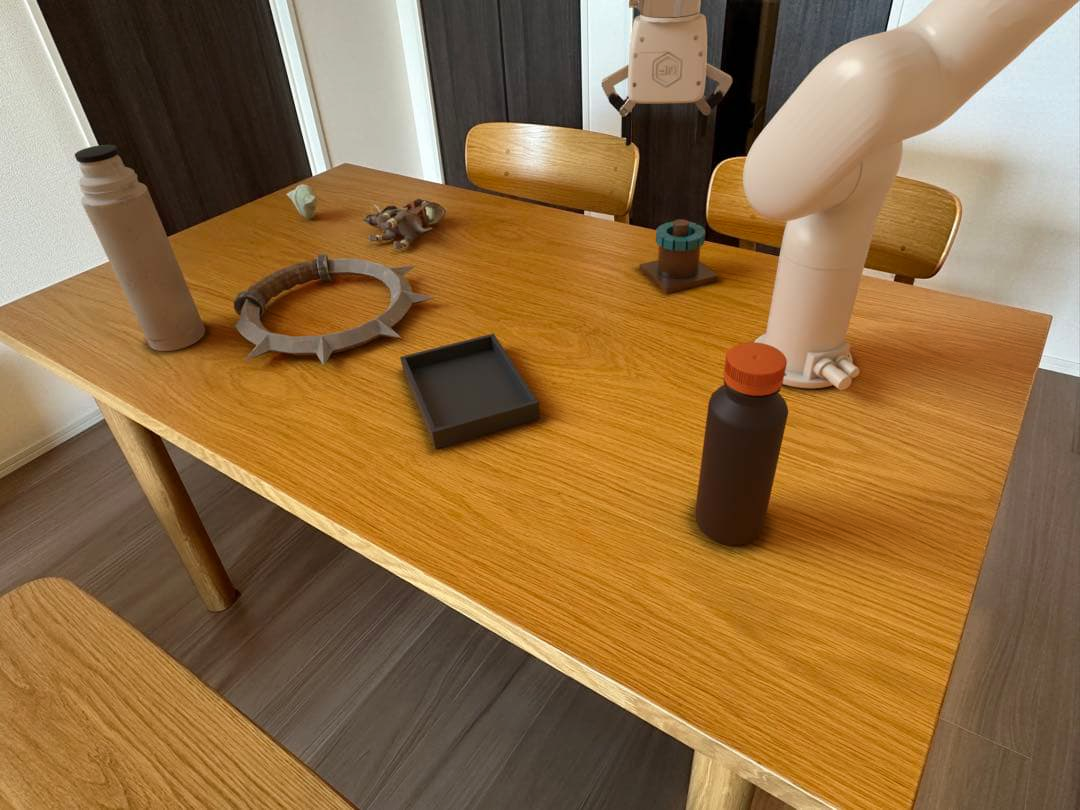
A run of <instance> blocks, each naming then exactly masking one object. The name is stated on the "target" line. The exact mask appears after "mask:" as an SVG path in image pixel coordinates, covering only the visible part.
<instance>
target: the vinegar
mask: <svg viewBox="0 0 1080 810" xmlns="http://www.w3.org/2000/svg"><path fill="white" fill-rule="evenodd" d="M786 365H787V360H786V357H785V356H784V354H783V353H782V352H781V351H780V350H778V349H776V348H775V347H772V346H770V345H767V344H762V343H754V341H753V342H749V341H747V342H742V343H739V344H735V345H733V346H732V347H730V348H729V349H728V350H727V352H726V354H725V361H724V367H723V373H722V375H723V376H722V377H723V379H722V380H723V384H722V385H721V386H719V387H718V388H717V389H716V390H715V391H714V392H712V394H711V395H710V398H709V400H708V405H707V413H706V420H705V428H704V436H703V445H702V452H701V461H700V470H699V477H698V485H697V494H696V501H695V510H694V517H695V523H696V524H697V527H698V529H699V530H700V531H701V532H702V534H704V536H706V537H707V538H709V539H711V540H713V541H715V542H716V543H718V544H719V543H720V544H723V545H726V546H741V545H746V544H749V543H751V542H753V541H755V540H757V538H758V537H759V536H760V535H761V534H762V533H763V530H764V526H765V523H766V518H767V513H768V510H769V509H768V508H769V504H770V499H771V494H772V491H773V485H774V481H775V476H776V472H777V467H778V463H779V458H780V453H781V448H782V444H783V439H784V434H785V429H786V424H787V421H788V416H789V408H788V404H787V401H786V400H785V399H784V397H783V396H782V394H781V393H780V392H781V389H782V387H783V384H782V383H783V379H784V374H785V370H786Z"/></svg>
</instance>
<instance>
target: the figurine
mask: <svg viewBox="0 0 1080 810" xmlns="http://www.w3.org/2000/svg"><path fill="white" fill-rule="evenodd" d="M370 206H371V207H370V212H371V214H367V215H365V216H364V217H363V219H362V221H364V222H365V223H367V224H368V225H369V226H370V227H373V228H378V229H380V230H382V233H385V234H384V235H380V234H376V235H373V234H372V233H368V236H367V237H368V238H367V239H368V240H369V243H371V242H377V243H382V242H383V241H385V242H386V241H391V240H393V239H395V238H397V237H398V236H400V237H402V238H403V239H401V241H400V242H399V241H396V240H395V241H393V247H394V250H399V249H403V250H405V249H408V247H409V245H411V243H413V241H415V240H416V239H417V238H418V237H419V235H420V234H421V233H423V234H425V233H427V232H429V231H430V230H433V229H434V227H432V226H434V225H438V224H440V222H441V221H443V219H444V217H445V215H446V213H447V210H446V209H445V208H444V206H442V205H441V204H440V203H437V202H435V201H431V200H428V199H421V198H418V199H417V198H416V199H415V200H410V201H409V202H405V203H402V204H401V207H402V209H399V207H397V206H396V205H392V204H389V205H386V206H385V207H383V209H381V208H380V205H377V204H374V203H372V204H370ZM373 206H374V207H375V208H376V209H377V211H376V212H374V213H373V210H372V209H373Z"/></svg>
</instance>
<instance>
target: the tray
mask: <svg viewBox="0 0 1080 810" xmlns="http://www.w3.org/2000/svg"><path fill="white" fill-rule="evenodd" d="M399 358H400V363H401V367H402V372H403V375H404V377H405V380H406V382H407V384H408V387H409V390H410V391H411V394H412V396H413V399H414V401H415V404H416V406H417V408H418V411H419V413H420V416H421V418H422V421H423V423H424V426H425V428H426V430H427V432H428V435H429V438H430V440H431V442H432V445H433V447H434V450H437V449H440V448H444V447H447V446H451V445H454V444H457V443H462V442H464V441H465V442H466V441H468V440H471V439H475V438H479V437H482V436H485V435H489V434H492V433H496V432H499V431H502V430H506V429H510V428H514V427H517V426H521V425H524V424H527V423H530V422H533V421H538V420H540V418H541V417H540V403H539V401H538V399H537V398H536V396H535V394H534V393H533V391H532V390H531V389H530V387H529V385H528V384H527V383H526V381H525V379H524V377H523V376H522V374H521V373H520V371H519V370H518V368H517V367H516V365H515V364H514V362H513V361H512V359H511V357H510V356H509V355H508V353H507V352H506V350H505V349H504V347H503V345H502V344H501V342H500V341H499V339H498V338H497V336H496V334H495V333H489V334H486V335H482V336H477V337H474V338H470V339H466V340H462V341H457V342H453V343H450V344H445V345H442V346H437V347H433V348H430V349H426V350H421V351H418V352H414V353H410V354H406V355H402V356H400V357H399Z"/></svg>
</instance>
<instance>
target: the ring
mask: <svg viewBox="0 0 1080 810" xmlns="http://www.w3.org/2000/svg"><path fill="white" fill-rule="evenodd" d="M673 222H674V221H670V222H669V221H668V222H665V223H664V224H661V225H658V227H657V228H656V230H655V231H656V232H655V243H656V244H657V245H658V247H659V246H660V247H663V248H665V249H668V250H674V249H675V251H686V250H688V251H689V250H694V249H697V248H699V247H700V248H701V247H702V246H703V245H704V244H705V240H706V239H705V238H706V229H705V228H704V227H703V226H702V225H700V224H698V223H695V222H692V221H689V233H688V236H687V237H675V236H672V235H673Z"/></svg>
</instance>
